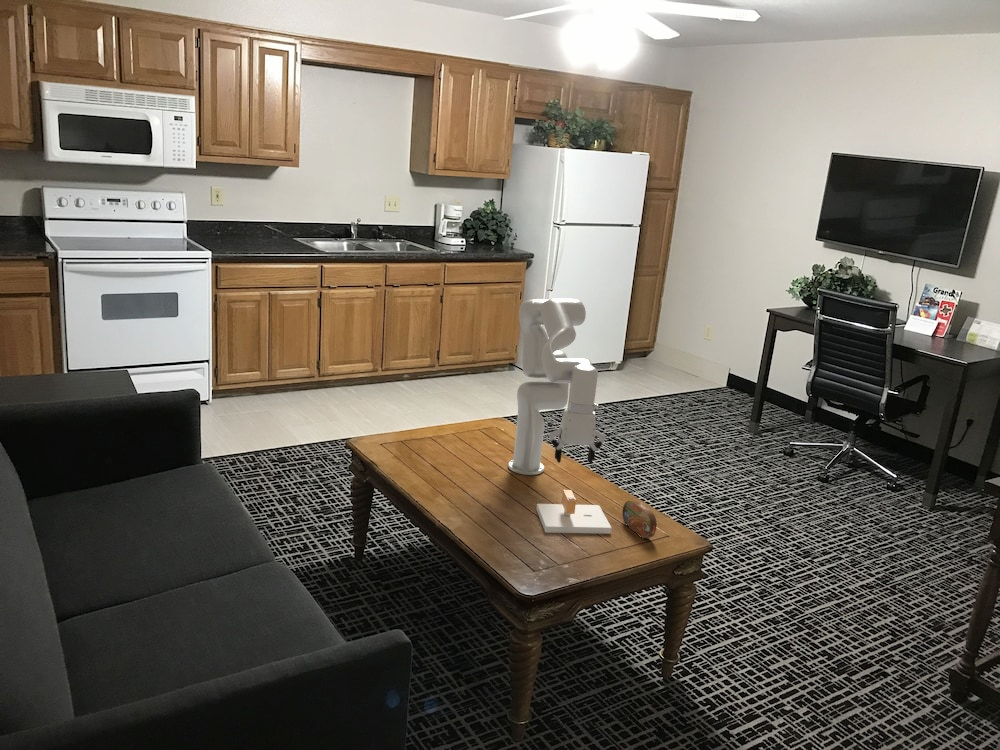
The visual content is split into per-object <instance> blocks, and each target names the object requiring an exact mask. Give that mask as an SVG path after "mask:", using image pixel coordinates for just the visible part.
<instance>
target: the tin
mask: <svg viewBox="0 0 1000 750" xmlns="http://www.w3.org/2000/svg"><path fill="white" fill-rule="evenodd" d="M622 519H623V522H624V525H626V524H627V525H628V526H629V527H630V528H631V529H632V530H633V531H635V532H636V533H637V534H639V535H640V536H641V537H642V538H641V539H649V538H653V537H654V536H655V535H656V531H657V525H658V524H657V518H656V516H655V514H654V513H653V511H652V510H650V509H649V508H647V506H645V505H643V504H642V503H641V502H640V501H638V500H627V501H625V502H624V504H623V507H622ZM630 528H629V529H630ZM631 529H630V530H631ZM632 530H631V531H632ZM633 531H632V532H633ZM636 533H635V534H636ZM637 534H636V535H637Z"/></svg>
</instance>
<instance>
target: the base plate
mask: <svg viewBox="0 0 1000 750" xmlns="http://www.w3.org/2000/svg"><path fill="white" fill-rule="evenodd" d="M536 512H537V515H538V517H539V520H540V523H541V525H542V528H543V530H544V533H545V534H546V533H550V534H552V533H553V534H555V533H556V534H557V533H558V534H599V535H600V534H601V535H603V534H605V535H606V534H609V535H610V534H611V533H612V526H611V524H610V522H609V521H608V520H609V519H607V517H606V515H605V513H604V511H603V510H602V508H601V506H600V505H599V504H576V506H575V514H566V512H565V510H564V507H563V505H562V503H558V504H557V503H536Z"/></svg>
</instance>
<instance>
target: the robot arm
mask: <svg viewBox="0 0 1000 750" xmlns="http://www.w3.org/2000/svg"><path fill="white" fill-rule="evenodd" d="M586 313H587V311H586V308H585V305H584V303H583V302H582V301H581V300H579V299H577V298H576V299H575V298H549V299H546V298H533V299H527V300H524V301H522V302H521V304H520V306H519V309H518V321H519V325H520V329H521V333H522V372H523V374H524V375H525V376H526V377H527V378H531V379H532V378H533V379H534V378H535V379H547V380H549V381H526V382H523V383H522V384H520V385H519V386H518V389H517V391H516V393H517V394H516V400H517V419H516V429H515V439H514V450H513V459H511V460H509V462H508V465H507V467H508V468H509V470H510V471H511V472H513V473H516V474H519V475H524V476H535V475H539V474H542V473H543V472H544V470H545V465H544V464H543V463H542V462H541V460H542V451H543V442H544V432H545V419H544V418H543V415H542V414H541V413H540V411H544V410H563V409H564V408H565V409H564V410H563V413H562V417H561V422H560V426H559V428H558V429H555V430H553V431H551V432H549V433H548V434H547V436H548V438H549V441H550V443H551V445H553V446H554V448H555V451H554V458H555V460H556V461H557V463H561V461H562V454H563V453H562V452H563V450H562V448H564V446H565V445H574V446H589V448H588V451H587V461H588V463H589V464H593V461H594V460H595V457H596V455H595V454H596V451H598V449H599V448H601V446H602V445H603V443H604V442H605V440H606V439H607V437H606V436H605V434H603V433H601V432H599V431H598V430H596V425H597V424H596V412H595V410H596V409H599V406H600V405H599V404H598V403H595V400H596V392H597V385H598V384H597V383H598V376H599V372H598V369H597V368H596V367H595V366H594V365H593V363H592V361H591V360H590V359H587V358H581V357H580V358H579V357H575V358H574V357H568V355H567V354H566V353H565V352H564V351H562V349H564V348H567V347H568V346H570V345H572V344H573V342H574V341H575V340H576V336H577V333H576V329H575V326H580V325H582V324H583V323H584V322H585V320H586V315H587V314H586ZM543 325H544V326H543ZM569 384H570V386H569ZM566 406H567V408H566ZM557 436H558V438H559V439H558V440H556V439H555V437H557ZM596 437H597V438H598V440H596V441H595V439H596Z"/></svg>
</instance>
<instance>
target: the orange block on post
mask: <svg viewBox="0 0 1000 750" xmlns="http://www.w3.org/2000/svg"><path fill="white" fill-rule="evenodd" d="M576 503H577V499H576V497H575V495H574V493H573V491H572V490H571V489H563V490H562V497H561V504H562V505H563V507H564V510H565V512H566V514H575V506H576V505H577V504H576Z"/></svg>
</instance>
